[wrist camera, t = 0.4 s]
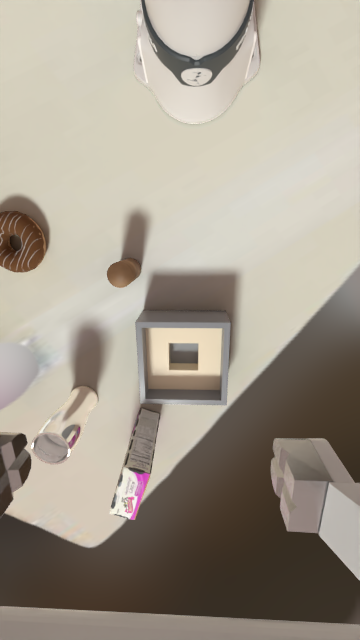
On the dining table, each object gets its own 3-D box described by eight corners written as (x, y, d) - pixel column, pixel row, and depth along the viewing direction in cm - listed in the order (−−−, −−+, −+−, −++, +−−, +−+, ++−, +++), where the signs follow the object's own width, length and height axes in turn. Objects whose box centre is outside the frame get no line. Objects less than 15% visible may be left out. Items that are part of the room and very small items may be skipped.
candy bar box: (149, 451, 64) (134, 522, 48) (128, 445, 63) (107, 514, 48) (162, 412, 60) (151, 475, 45) (140, 406, 60) (122, 467, 44)
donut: (61, 256, 51) (50, 258, 47) (15, 280, 53) (2, 283, 49) (29, 200, 48) (15, 198, 45) (-18, 227, 50) (-35, 226, 46)
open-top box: (143, 310, 53) (135, 322, 46) (225, 310, 53) (230, 322, 45) (146, 382, 58) (140, 403, 51) (222, 384, 57) (226, 405, 50)
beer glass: (89, 379, 59) (55, 425, 44) (106, 404, 60) (78, 457, 46) (62, 391, 60) (21, 440, 45) (80, 415, 61) (45, 470, 47)
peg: (119, 258, 51) (106, 262, 43) (140, 258, 50) (131, 262, 43) (120, 279, 52) (108, 287, 44) (141, 279, 52) (132, 287, 44)
